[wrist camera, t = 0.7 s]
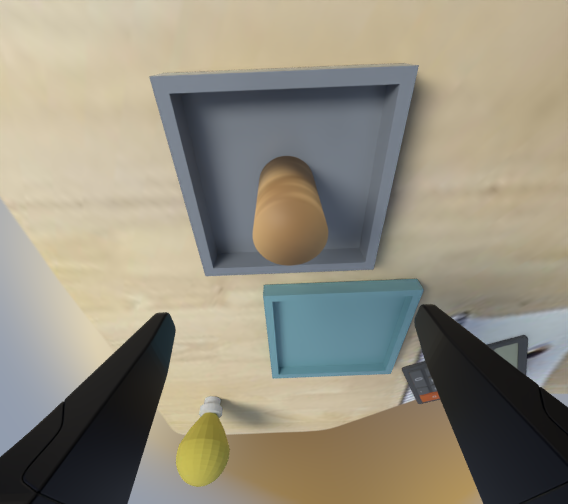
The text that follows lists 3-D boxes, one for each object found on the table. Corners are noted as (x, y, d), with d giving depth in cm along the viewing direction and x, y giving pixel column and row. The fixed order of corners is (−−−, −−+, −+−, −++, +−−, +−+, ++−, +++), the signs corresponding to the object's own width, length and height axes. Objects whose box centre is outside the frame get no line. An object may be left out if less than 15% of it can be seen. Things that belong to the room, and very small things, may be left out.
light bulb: (198, 385, 38) (177, 475, 30) (242, 395, 40) (234, 481, 32) (184, 404, 41) (162, 489, 33) (225, 412, 44) (214, 495, 36)
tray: (417, 278, 26) (423, 289, 25) (386, 362, 36) (390, 373, 34) (263, 284, 26) (263, 296, 25) (272, 367, 36) (272, 378, 34)
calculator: (402, 371, 36) (529, 338, 32) (400, 365, 37) (523, 331, 33) (419, 405, 42) (526, 381, 38) (416, 399, 43) (521, 375, 39)
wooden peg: (314, 154, 19) (331, 200, 13) (312, 206, 21) (325, 264, 16) (256, 156, 19) (248, 204, 13) (261, 208, 21) (256, 266, 16)
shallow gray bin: (402, 63, 16) (418, 65, 14) (366, 252, 24) (373, 269, 23) (163, 73, 16) (149, 76, 14) (210, 258, 24) (205, 276, 23)
